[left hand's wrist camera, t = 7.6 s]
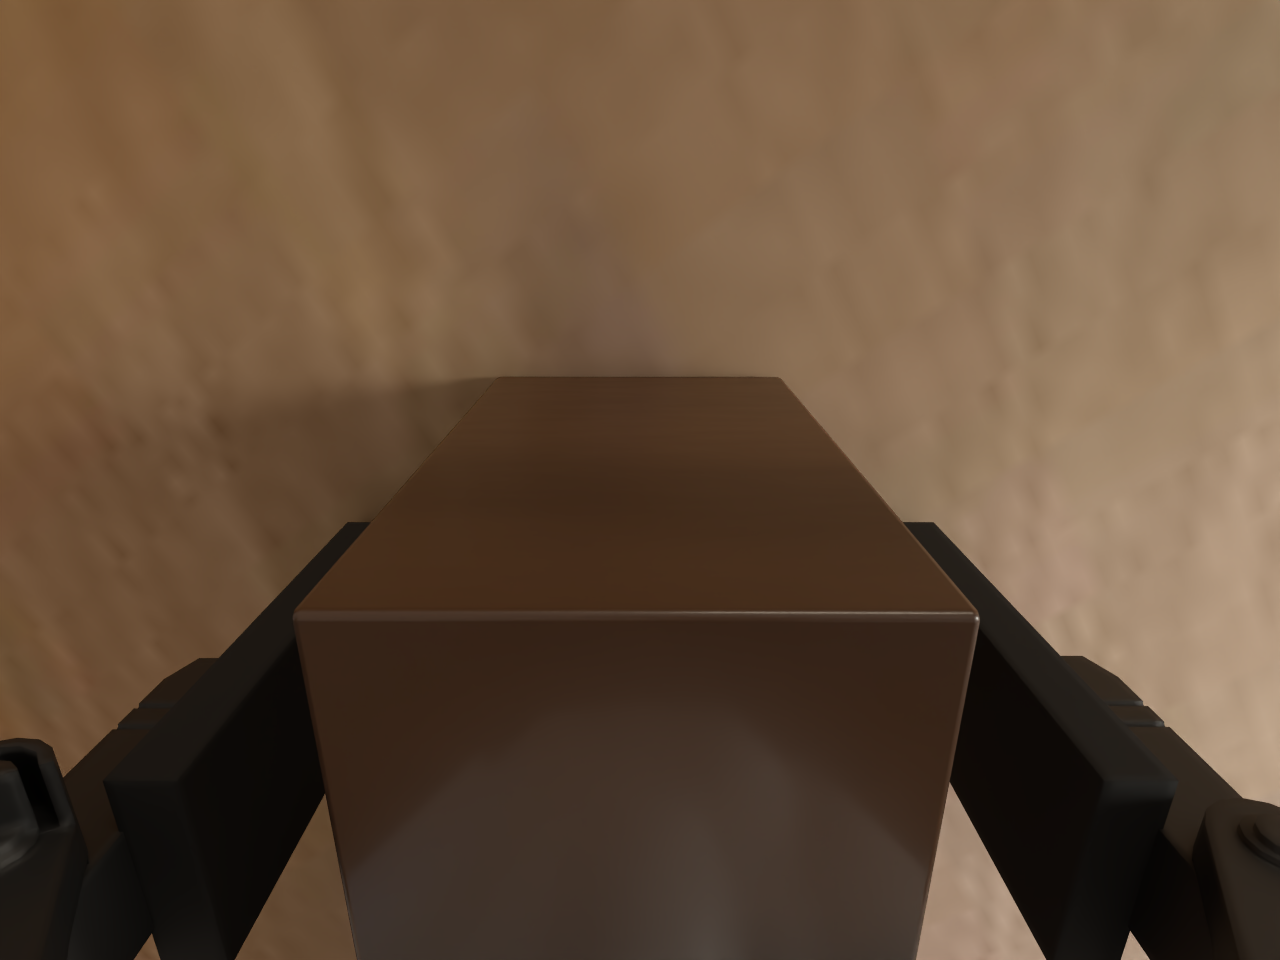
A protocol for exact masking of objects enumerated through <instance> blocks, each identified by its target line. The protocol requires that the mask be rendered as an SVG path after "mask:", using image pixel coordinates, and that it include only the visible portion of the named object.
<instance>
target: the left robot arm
mask: <svg viewBox="0 0 1280 960" xmlns="http://www.w3.org/2000/svg"><path fill="white" fill-rule="evenodd" d="M370 523H371V522H347V524H346V525H345V526H344V527H343V528H342V529H341V530H340V531H339V532H338V533H337V534H336V535H335V536H334V537H333V538H332V539H331V540H330V541H329V543H328V544H327V545H326V546H325V547H324V548H323V549H322V550H321V551H320V552H319V553H318V554H317V555H316V556H315V557H314V558H313V559H312V560H311V561H310V563H309V564H308V565H307V566H306V567H305V568H304V569H303V570H302V571H301V572H300V573H299V574H298V575H297V576H296V577H295V578H294V579H293V580H292V581H291V583H290V584H289V585H288V586H287V587H286V588H285V589H284V590H283V591H282V592H281V593H280V594H279V595H278V596H277V597H276V598H275V599H274V600H273V602H272V603H271V604H270V605H269V606H268V607H267V608H266V609H265V610H264V611H263V612H262V613H261V614H260V615H259V616H258V617H257V618H256V619H255V620H254V622H253V623H252V624H251V625H250V626H249V627H248V628H247V629H246V630H245V631H244V632H243V633H242V634H241V635H240V636H239V637H238V638H237V639H236V640H235V642H234V643H233V644H232V645H231V646H230V647H229V648H228V649H227V650H226V651H225V652H224V653H223V654H222V655H221V656H220V657H219V658H199V659H197V660H196V661H194V662H192V663H191V664H189V665H187V666H185V667H184V668H182V669H180V670H179V671H177V672H175V673H174V674H172V675H170V676H169V677H167V678H165V679H164V680H163V681H162V682H161V683H160V684H159V685H158V686H157V687H156V688H155V689H154V690H153V691H152V692H150V693H149V694H148V695H147V696H146V697H145V698H144V699H143V700H142V701H141V702H140V703H139V708H138V709H133V710H132V711H131V712H130V713H129V714H128V715H127V716H126V717H125V718H124V719H123V720H122V721H121V722H120V723H119V724H118V728H117V730H112V731H111V732H110V733H109V734H108V735H106V736H105V737H104V738H103V739H102V740H101V741H100V742H99V743H98V744H97V745H96V746H95V747H94V748H93V749H92V750H91V751H90V752H89V753H88V754H87V755H86V756H85V757H84V758H83V759H82V760H81V761H80V762H79V763H78V764H77V765H76V766H75V767H74V768H73V769H72V770H71V771H70V772H69V773H68V774H67V775H66V776H65V777H62V774H61V771H60V768H59V765H58V762H57V760H56V757H55V754H54V751H53V748H52V747H51V746H49V745H48V744H46V743H44V742H43V741H41V740H39V739H25V738H14V739H8V740H2V741H0V960H134V958H135V957H136V956H137V954H138V953H139V951H140V950H141V948H142V947H143V945H144V944H145V942H146V941H147V939H148V938H149V936H150V935H151V933H152V935H153V938H154V941H155V944H156V947H157V950H158V953H159V956H160V959H161V960H235V958H236V956H237V954H238V952H239V951H240V949H241V947H242V945H243V943H244V941H245V940H246V938H247V936H248V934H249V932H250V930H251V929H252V927H253V925H254V923H255V921H256V919H257V918H258V916H259V914H260V912H261V910H262V908H263V906H264V905H265V903H266V901H267V899H268V897H269V895H270V894H271V892H272V890H273V888H274V886H275V884H276V883H277V881H278V879H279V877H280V875H281V873H282V872H283V870H284V868H285V866H286V864H287V862H288V861H289V859H290V857H291V855H292V853H293V851H294V849H295V848H296V846H297V844H298V842H299V840H300V838H301V837H302V835H303V833H304V831H305V829H306V827H307V826H308V824H309V822H310V820H311V818H312V816H313V815H314V813H315V811H316V809H317V807H318V805H319V804H320V802H321V800H322V798H323V796H324V794H325V789H324V783H323V778H322V773H321V768H320V762H319V757H318V752H317V747H316V741H315V736H314V731H313V726H312V720H311V715H310V710H309V705H308V699H307V694H306V689H305V684H304V678H303V673H302V668H301V663H300V657H299V652H298V647H297V642H296V636H295V631H294V626H293V621H292V620H293V614H294V610H295V609H296V608H297V606H298V605H299V604H300V603H301V602H302V601H303V600H304V598H305V597H306V596H307V595H308V594H309V593H310V592H311V590H312V589H313V588H314V587H315V586H316V585H317V584H318V582H319V581H320V580H321V579H322V578H323V577H324V576H325V574H326V573H327V572H328V571H329V570H330V569H331V568H332V566H333V565H334V564H335V563H336V562H337V561H338V560H339V558H340V557H341V556H342V555H343V554H344V553H345V552H346V550H347V549H348V548H349V547H350V546H351V545H352V544H353V542H354V541H355V540H356V539H357V538H358V537H359V536H360V534H361V533H362V532H363V531H364V530H365V529H366V528H367V526H368V525H369V524H370ZM903 523H904V525H905V526H906V527H907V528H908V529H909V531H910V532H911V533H912V534H913V535H914V536H915V538H916V539H917V540H918V541H919V542H920V544H921V545H922V546H923V547H924V548H925V549H926V551H927V552H928V553H929V554H930V555H931V556H932V558H933V559H934V560H935V561H936V562H937V564H938V565H939V566H940V567H941V568H942V569H943V571H944V572H945V573H946V574H947V575H948V577H949V578H950V579H951V580H952V581H953V582H954V584H955V585H956V586H957V587H958V588H959V590H960V591H961V592H962V593H963V594H964V595H965V597H966V598H967V599H968V600H969V601H970V603H971V604H972V605H973V606H974V607H975V608H976V610H977V611H978V614H979V617H980V623H979V629H978V634H977V639H976V644H975V650H974V655H973V660H972V666H971V671H970V676H969V681H968V687H967V692H966V697H965V702H964V708H963V713H962V718H961V724H960V729H959V734H958V739H957V745H956V750H955V755H954V760H953V766H952V771H951V776H950V783H951V785H952V787H953V789H954V791H955V792H956V794H957V796H958V798H959V800H960V802H961V803H962V805H963V807H964V809H965V811H966V813H967V814H968V816H969V818H970V820H971V822H972V824H973V826H974V827H975V829H976V831H977V833H978V835H979V837H980V838H981V840H982V842H983V844H984V846H985V848H986V849H987V851H988V853H989V855H990V857H991V859H992V860H993V862H994V864H995V866H996V868H997V870H998V871H999V873H1000V875H1001V877H1002V879H1003V881H1004V883H1005V884H1006V886H1007V888H1008V890H1009V892H1010V894H1011V895H1012V897H1013V899H1014V901H1015V903H1016V905H1017V906H1018V908H1019V910H1020V912H1021V914H1022V916H1023V917H1024V919H1025V921H1026V923H1027V925H1028V927H1029V928H1030V930H1031V932H1032V934H1033V936H1034V938H1035V940H1036V941H1037V943H1038V945H1039V947H1040V949H1041V951H1042V952H1043V954H1044V956H1045V958H1046V960H1121V957H1122V954H1123V951H1124V948H1125V945H1126V942H1127V939H1128V935H1129V932H1130V931H1131V932H1132V934H1133V935H1134V937H1135V938H1136V940H1137V941H1138V943H1139V944H1140V946H1141V947H1142V949H1143V950H1144V951H1145V953H1146V954H1147V956H1148V957H1149V959H1150V960H1280V807H1277V806H1275V805H1272V804H1269V803H1265V802H1260V801H1255V800H1249V799H1244V798H1242V797H1241V796H1240V795H1239V794H1238V793H1237V792H1236V791H1235V790H1234V789H1233V788H1232V787H1231V786H1230V785H1229V784H1228V783H1227V782H1226V781H1225V780H1224V779H1223V778H1221V777H1220V776H1219V775H1218V774H1217V773H1216V772H1215V771H1214V770H1213V769H1212V768H1211V767H1210V766H1209V765H1208V764H1207V763H1206V762H1205V761H1204V760H1203V759H1202V758H1201V757H1200V756H1199V755H1198V754H1197V753H1196V752H1195V751H1194V750H1193V749H1192V748H1191V747H1190V746H1189V745H1187V744H1186V743H1185V742H1184V741H1183V740H1182V739H1181V738H1180V737H1179V736H1178V735H1177V734H1176V733H1175V732H1174V731H1173V730H1172V729H1171V728H1170V727H1165V726H1164V721H1163V720H1162V719H1161V718H1160V717H1159V716H1158V715H1157V714H1156V713H1154V712H1153V711H1152V710H1151V709H1150V708H1149V707H1148V706H1144V705H1143V701H1142V700H1141V699H1140V698H1139V697H1138V696H1137V695H1136V694H1135V693H1134V692H1133V691H1132V690H1131V689H1130V688H1129V687H1128V686H1127V685H1126V684H1125V683H1124V682H1123V681H1122V680H1120V679H1119V678H1118V677H1117V676H1115V675H1114V674H1112V673H1110V672H1109V671H1107V670H1105V669H1104V668H1102V667H1100V666H1099V665H1097V664H1095V663H1093V662H1092V661H1090V660H1088V659H1087V658H1085V657H1083V656H1060V655H1059V654H1058V653H1057V652H1056V651H1055V650H1054V649H1053V648H1052V647H1051V646H1050V645H1049V644H1048V642H1047V641H1046V640H1045V639H1044V638H1043V637H1042V636H1041V635H1040V634H1039V633H1038V632H1037V631H1036V630H1035V629H1034V628H1033V627H1032V626H1031V625H1030V623H1029V622H1028V621H1027V620H1026V619H1025V618H1024V617H1023V616H1022V615H1021V614H1020V613H1019V612H1018V611H1017V610H1016V609H1015V608H1014V607H1013V606H1012V605H1011V603H1010V602H1009V601H1008V600H1007V599H1006V598H1005V597H1004V596H1003V595H1002V594H1001V593H1000V592H999V591H998V590H997V589H996V588H995V587H994V586H993V585H992V583H991V582H990V581H989V580H988V579H987V578H986V577H985V576H984V575H983V574H982V573H981V572H980V571H979V570H978V569H977V568H976V567H975V566H974V564H973V563H972V562H971V561H970V560H969V559H968V558H967V557H966V556H965V555H964V554H963V553H962V552H961V551H960V550H959V549H958V548H957V547H956V546H955V544H954V543H953V542H952V541H951V540H950V539H949V538H948V537H947V536H946V535H945V534H944V533H943V532H942V531H941V530H940V529H939V528H938V527H937V526H936V524H935V523H934V522H903Z"/></svg>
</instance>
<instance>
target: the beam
mask: <svg viewBox="0 0 1280 960" xmlns="http://www.w3.org/2000/svg"><path fill="white" fill-rule="evenodd" d="M292 621H293V626H294V631H295V636H296V642H297V647H298V652H299V657H300V663H301V668H302V673H303V678H304V684H305V689H306V694H307V699H308V705H309V710H310V715H311V720H312V726H313V731H314V736H315V741H316V747H317V752H318V757H319V762H320V768H321V773H322V778H323V783H324V789H325V794H326V799H327V804H328V810H329V815H330V820H331V825H332V831H333V836H334V841H335V846H336V852H337V857H338V862H339V867H340V873H341V878H342V883H343V888H344V894H345V899H346V904H347V909H348V915H349V920H350V925H351V930H352V935H353V941H354V946H355V951H356V956H357V960H916V956H917V950H918V945H919V940H920V935H921V929H922V924H923V919H924V913H925V908H926V903H927V898H928V892H929V887H930V882H931V876H932V871H933V866H934V861H935V855H936V850H937V845H938V840H939V834H940V829H941V824H942V818H943V813H944V808H945V803H946V797H947V792H948V787H949V782H950V776H951V771H952V766H953V760H954V755H955V750H956V745H957V739H958V734H959V729H960V724H961V718H962V713H963V708H964V702H965V697H966V692H967V687H968V681H969V676H970V671H971V666H972V660H973V655H974V650H975V644H976V639H977V634H978V629H979V623H980V617H979V614H978V611H977V610H976V608H975V607H974V606H973V605H972V604H971V603H970V601H969V600H968V599H967V598H966V597H965V595H964V594H963V593H962V592H961V591H960V590H959V588H958V587H957V586H956V585H955V584H954V582H953V581H952V580H951V579H950V578H949V577H948V575H947V574H946V573H945V572H944V571H943V569H942V568H941V567H940V566H939V565H938V564H937V562H936V561H935V560H934V559H933V558H932V556H931V555H930V554H929V553H928V552H927V551H926V549H925V548H924V547H923V546H922V545H921V544H920V542H919V541H918V540H917V539H916V538H915V536H914V535H913V534H912V533H911V532H910V531H909V529H908V528H907V527H906V526H905V525H904V523H903V522H902V521H901V520H900V519H899V518H898V516H897V515H896V514H895V513H894V512H893V510H892V509H891V508H890V507H889V506H888V505H887V503H886V502H885V501H884V500H883V499H882V497H881V496H880V495H879V494H878V493H877V492H876V490H875V489H874V488H873V487H872V486H871V484H870V483H869V482H868V481H867V480H866V479H865V477H864V476H863V475H862V474H861V473H860V472H859V470H858V469H857V468H856V467H855V466H854V464H853V463H852V462H851V461H850V460H849V459H848V457H847V456H846V455H845V454H844V453H843V451H842V450H841V449H840V448H839V447H838V446H837V444H836V443H835V442H834V441H833V440H832V438H831V437H830V436H829V435H828V434H827V433H826V431H825V430H824V429H823V428H822V427H821V425H820V424H819V423H818V422H817V421H816V420H815V418H814V417H813V416H812V415H811V414H810V412H809V411H808V410H807V409H806V408H805V407H804V405H803V404H802V403H801V402H800V401H799V400H798V398H797V397H796V396H795V395H794V394H793V392H792V391H791V390H790V389H789V388H788V387H787V385H786V384H785V383H784V382H783V381H782V379H780V378H778V377H499V378H497V379H496V380H495V381H494V383H493V384H492V385H491V386H490V387H489V388H488V389H487V391H486V392H485V393H484V394H483V395H482V396H481V397H480V399H479V400H478V401H477V402H476V403H475V404H474V405H473V407H472V408H471V409H470V410H469V411H468V412H467V413H466V415H465V416H464V417H463V418H462V419H461V420H460V421H459V423H458V424H457V425H456V426H455V427H454V428H453V429H452V431H451V432H450V433H449V434H448V435H447V436H446V437H445V439H444V440H443V441H442V442H441V443H440V444H439V445H438V447H437V448H436V449H435V450H434V451H433V452H432V453H431V455H430V456H429V457H428V458H427V459H426V460H425V461H424V462H423V464H422V465H421V466H420V467H419V468H418V469H417V470H416V472H415V473H414V474H413V475H412V476H411V477H410V478H409V480H408V481H407V482H406V483H405V484H404V485H403V486H402V488H401V489H400V490H399V491H398V492H397V493H396V494H395V496H394V497H393V498H392V499H391V500H390V501H389V502H388V504H387V505H386V506H385V507H384V508H383V509H382V510H381V512H380V513H379V514H378V515H377V516H376V517H375V518H374V520H373V521H372V522H371V523H370V524H369V525H368V526H367V528H366V529H365V530H364V531H363V532H362V533H361V534H360V536H359V537H358V538H357V539H356V540H355V541H354V542H353V544H352V545H351V546H350V547H349V548H348V549H347V550H346V552H345V553H344V554H343V555H342V556H341V557H340V558H339V560H338V561H337V562H336V563H335V564H334V565H333V566H332V568H331V569H330V570H329V571H328V572H327V573H326V574H325V576H324V577H323V578H322V579H321V580H320V581H319V582H318V584H317V585H316V586H315V587H314V588H313V589H312V590H311V592H310V593H309V594H308V595H307V596H306V597H305V598H304V600H303V601H302V602H301V603H300V604H299V605H298V606H297V608H296V609H295V610H294V614H293V620H292Z"/></svg>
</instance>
